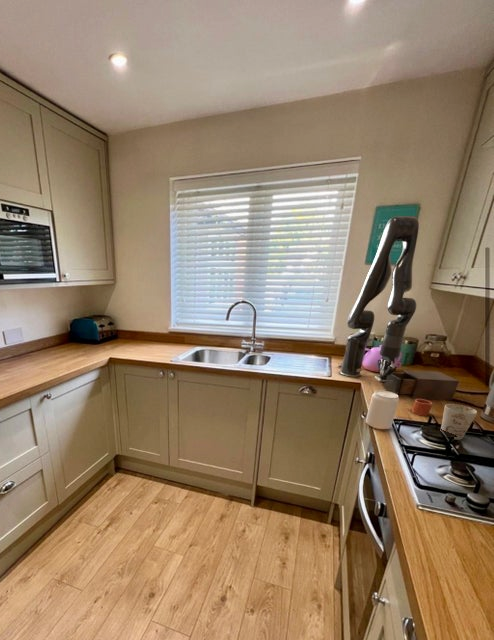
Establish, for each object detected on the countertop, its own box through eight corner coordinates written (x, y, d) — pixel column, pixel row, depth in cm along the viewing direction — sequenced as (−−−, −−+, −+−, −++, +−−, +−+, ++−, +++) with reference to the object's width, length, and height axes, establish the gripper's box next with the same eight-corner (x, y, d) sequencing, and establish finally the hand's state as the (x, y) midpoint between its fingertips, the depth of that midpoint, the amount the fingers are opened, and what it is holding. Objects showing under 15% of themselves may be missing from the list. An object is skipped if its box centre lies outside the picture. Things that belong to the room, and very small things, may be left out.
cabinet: (413, 398, 145) (418, 378, 141) (397, 387, 157) (403, 369, 154) (452, 400, 143) (459, 380, 140) (433, 389, 156) (439, 371, 152)
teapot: (360, 374, 177) (366, 348, 172) (353, 363, 196) (358, 340, 191) (406, 378, 171) (414, 352, 166) (394, 367, 191) (401, 344, 186)
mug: (433, 435, 112) (443, 408, 108) (440, 424, 120) (449, 398, 116) (464, 444, 106) (475, 416, 103) (470, 432, 114) (480, 405, 111)
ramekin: (408, 409, 132) (412, 398, 131) (423, 410, 132) (427, 399, 130) (416, 415, 127) (420, 403, 125) (431, 416, 127) (435, 404, 125)
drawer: (380, 393, 146) (384, 378, 144) (368, 384, 158) (372, 370, 155) (429, 396, 144) (434, 381, 142) (414, 387, 156) (419, 372, 153)
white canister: (390, 424, 119) (399, 392, 115) (390, 432, 113) (400, 400, 108) (365, 418, 123) (373, 388, 118) (364, 426, 116) (372, 395, 112)
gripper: (376, 341, 151) (367, 377, 157) (389, 348, 138) (379, 387, 145) (393, 342, 150) (383, 378, 156) (408, 349, 138) (397, 388, 144)
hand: (381, 382), depth 151 cm, fingers closed
